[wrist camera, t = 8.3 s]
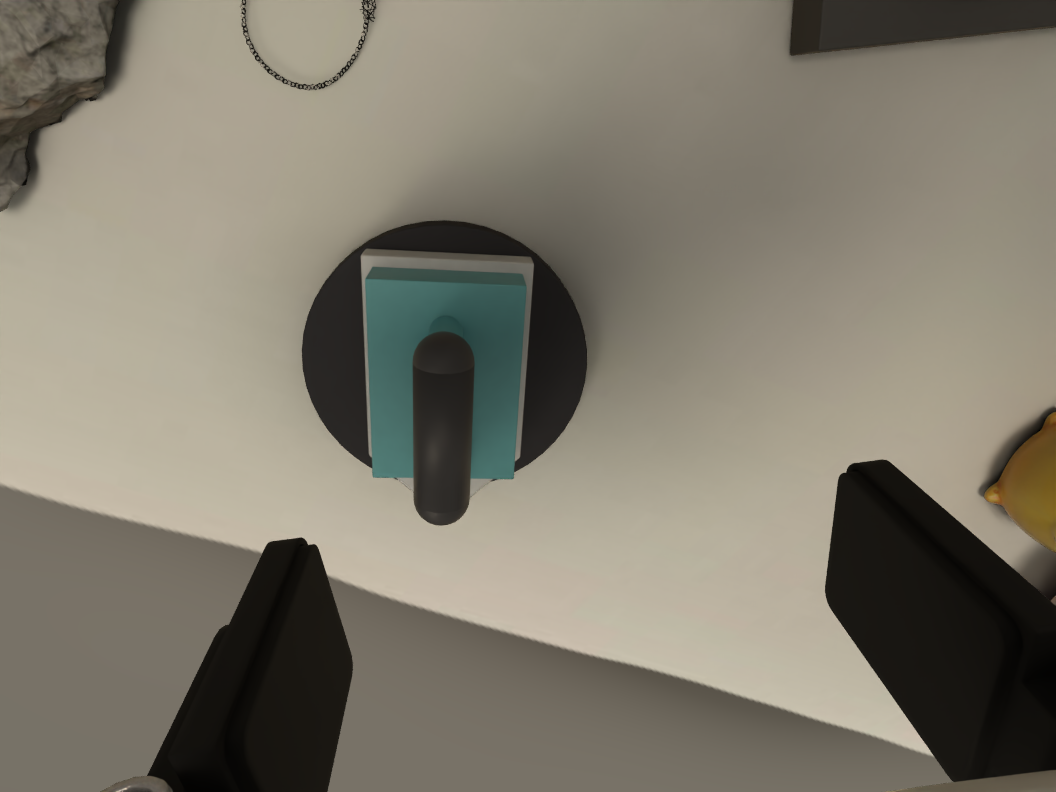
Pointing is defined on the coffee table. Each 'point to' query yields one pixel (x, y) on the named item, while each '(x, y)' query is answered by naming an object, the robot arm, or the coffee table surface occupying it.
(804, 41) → the switch block
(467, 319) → the iron
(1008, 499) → the mug
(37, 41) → the fossil stone
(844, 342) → the coffee table surface
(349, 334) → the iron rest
